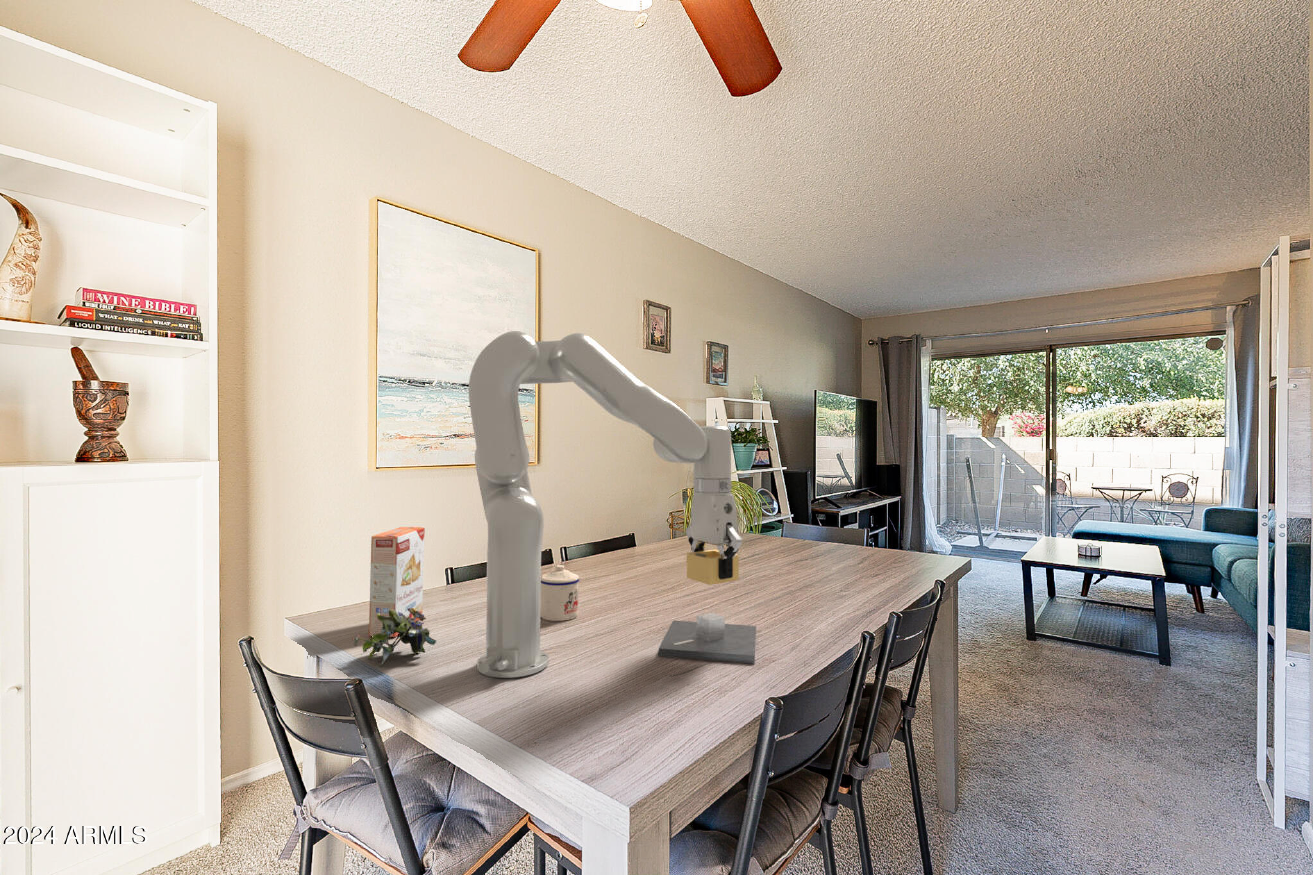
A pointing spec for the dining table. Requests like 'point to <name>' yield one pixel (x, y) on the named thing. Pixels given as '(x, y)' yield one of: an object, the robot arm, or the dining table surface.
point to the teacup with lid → (559, 595)
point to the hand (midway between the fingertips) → (712, 573)
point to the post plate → (710, 640)
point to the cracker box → (396, 574)
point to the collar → (708, 567)
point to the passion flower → (407, 632)
